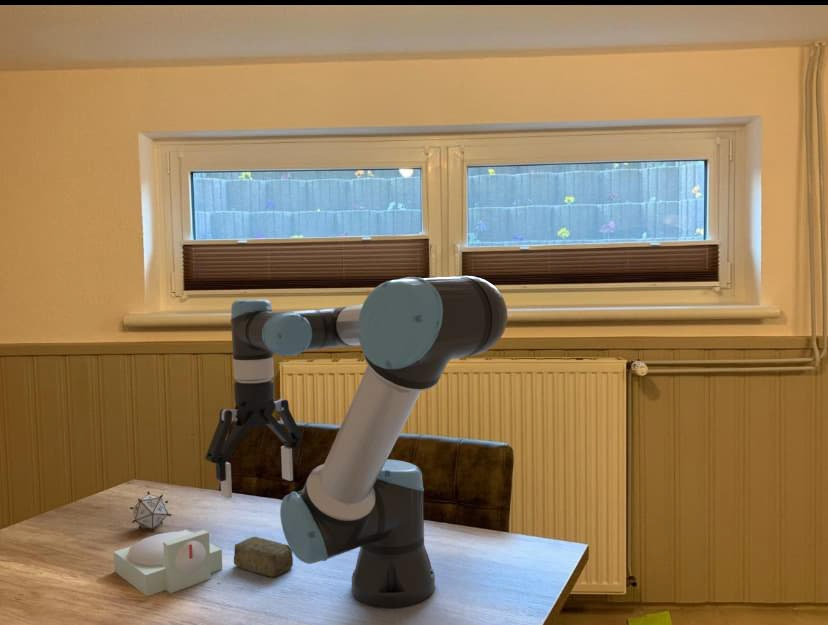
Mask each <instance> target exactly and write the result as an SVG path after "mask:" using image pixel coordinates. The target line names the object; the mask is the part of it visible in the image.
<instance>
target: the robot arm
mask: <svg viewBox="0 0 828 625" xmlns="http://www.w3.org/2000/svg"><path fill="white" fill-rule="evenodd" d="M230 315H231V318H230V323H231V324H230V326H231V341H232V344H231V345H232V361H233V363H232V364H233V379H235V382H234V383H233V391H234V392H233V393H234V401H235V407H234V409H226V408H221V409H220V410H219V420H218V423H217V426H216V429H215V431H214V433H213V437H212V439H211V441H210V444H209V447H208V449H207V452H206V454H205V458H204V459H205V460H206V461H208V462H210V463H212V464H215V474H216V475H215V476H216V480H217V481H220V496H222V497H223V498H226V499H232V498H233V494H232V492H233V490H232V488H233V486H232V465H231V463H230V462H228V460H229V459H230V457H231V455H232V454H233V453H234V451H235V450H236V447H237V446H238V444H239V443H240V441H241V439H242V437H244V435H245V434H246V433H247V432H248V431H249V430H255V429H257V428H264V427H266V426H267V427H268V428H269V429H270V430H271V431H272V432H273V433H274V434H275V435H276V436H277V438H278V439H279V440H280V441H281V442H282V443H283V444H284V445H282V446H280V453H281V454H280V456H281V478H282V479H283V480H286V481H289V482H291V481H294V473H293V472H294V471H293V469H294V468H293V467H294V466H293V463H295V460H296V448H298V447H299V443H302V442H303V440H304V437H303V435H302V432H301V431H300V429H299V427H298V425H297V422H296V421H295V418H294V417H293V414H292V413H291V411H290V405H289V401H288V400H287V399H283V398H277V399H276V401H274V399H275V381H274V380H273V379H272V378H273V377H274V376H275V371H274V370H275V369H274V354H275V355H278V356H284V357H285V356H297V355H299V354H302V353H303V352H306V351H314V350H320V349H329V348H330V349H331V348H340V347H341V348H342V347H354V346H355V347H356V346H360V348H361V350H362V354H363V355H362V356H363V360H364V361H365V364H366V369H365V371H364V373H363V376H362V378H361V379H360V382H359V384H358V387H357V388H356V391H355V394H354V396H353V398H352V399H351V402H350V405H349V407H348V409H347V411H346V414H345V416H344V418H343V421H342V423H341V424H340V427H339V430H338V432H337V435H336V437H335V438H334V441H333V443H332V445H331V448H330V450H329V452H328V455H327V456H326V459H325V462H324V463H323V464H320V465H318V466H316V467H315V468H313V469H312V470H311V472H310V473H309V475H308V477H307V479H306V482H305V483H304V486H303V489H301V490H299V491H291V493H289V494H287V495H284V497H283V498H282V500H281V503H280V523H281V528H282V531H283V535H284V538H285V539H286V540H285V541H286V543H287V545H288V546H289V547H290V549H291V550H292V554H293V555H294V556H295V557H296V559H298V560H299V561H301V562H302V563H304V564H308V565H310V564H311V565H312V564H315V563H319V562H326V561H327V560H328V559H331V558H335V557H337V556H340V555H343V554H345V553H348V552H350V551H353V550H355V549H358V548H359V552H358V555H357V559H356V563H355V564H356V565H355V569H353V572H352V575H351V592H352V595H353V596H354V597H355V598H356V599H357V600H358V601H360V602H361V603H363V604H364V605H365V604H366V605H368V606H372V607H378V608H386V609H387V608H388V609H390V608H391V609H394V608H402V607H409V606H412V605H416V604H418V603H421V602H423V601H425V600H427V599H428V598H430V596H432V594H433V593H434V591H435V589H436V584H435V583H436V582H435V581H436V578H435V577H436V576H435V572H434V568H433V567H432V565H431V561H430V558H429V555H428V551H427V548H426V546H425V527H424V526H425V524H424V522H425V519H424V518H425V516H424V515H425V514H424V512H425V511H424V507H425V506H424V491H425V488H424V485H423V484H424V483H423V474H422V470H421V469H420V467H418V466H416V465H415V464H414V463H410V462H406V461H403V460H397V459H389V455H390V454H391V452H392V450H393V447H395V444H396V442H397V440H398V439H399V436H400V434H401V432H402V431H403V428H404V426H405V424H406V422H407V420H408V418H409V416H410V414H411V412H412V410H413V408H414V406H415V405H416V403H417V401H418V398H419V397H420V395H421V393H422V391H428V390H430V389H432V388H434V387H435V386H436V385H437V384H438V382H439V380H440V378H441V376H442V375H443V373H444V371H445V369H446V368H447V365H448V363H449V362H450V361H451V360H453V359H460V358H466V357H472V356H473V357H474V356H476V355H480V354H483V353H484V352H486V351H489V350H490V349H491V348H493V347H494V346H495V345H496V344H497V343H498V342H499V341H500V340H501V339H502V336H503V335H504V333H505V330H506V327H507V324H508V309H507V305H506V301H505V299H504V297H503V295H502V293H501V292H500V291H499V290H498V288H496V287H495V285H493V283H490V282H489V281H487V280H486V279H483V278H480V277H476V276H471V275H470V276H469V275H460V276H459V275H458V276H444V277H443V276H442V277H441V276H440V277H427V278H426V277H425V278H422V277H418V276H417V277H416V276H407V277H402V278H399V279H392V280H388V281H385V282H382V283H381V284H379V285H377V286H376V287H375V288H374V289H373V290H371V291H370V293H369V294H368V295H367V297H366V298H365V300H364V301H363V304H357V305H350V306H349V305H347V306H340V307H331V308H330V307H329V308H321V309H320V308H319V309H307V310H306V309H304V310H303V309H302V310H301V309H300V310H289V311H273V310H272V304H271V302H270V300H268V299H265V298H263V299H262V298H256V299H255V298H251V299H238V300H234V301H233V302H232V304H231V314H230ZM275 411H277V412H278V415H279V416H280V419H281V420H282V423H283V426H285V428H286V430H287V431H286V430H285V429H284V427H283V426H282V425H281V424H280V423H279V421H278V420H277V419H276V417H275V416H273V414H274V413H275ZM235 418H236V420H235ZM234 420H235V422H234V424H233V426H232V421H234ZM231 426H232V430H231V431H230V429H231ZM229 431H230V433H229Z"/></svg>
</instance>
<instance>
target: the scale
mask: <svg viewBox="0 0 828 625" xmlns="http://www.w3.org/2000/svg"><path fill="white" fill-rule="evenodd" d="M222 554H223V552H222V549H221V548H220V547H218V546H216V545H214V544H213V543H211V542H210V532H209V531H207V530H206V529H202V530H201V529H200V530H199V531H198V530H197V531H195V532H192V531H190V530H188V529H184V530H180V531H171V532H170V531H169V532H164V533H159V534H158V533H157V534H155V535H151V536H148V537H145V538H142V539H141V540H139V541H137V542H135V543H134V544H133V545H130V546H128V547H124V548H121V549H118V550H115V551H113V562H114V563H113V564H114V572H115V573H116V574H118V575H119V576H120V577H121V578H123V579H124V580H125V581H126V582H128V583H129V584H130V585H131V586H133V587H134V588H135V589H137V591H139V592H140V593H142V594H143V595H144V596H145V597H151V596H153V595H155V594H156V595H157V594H158V593H161V592H164V591H167V592H168V593H169V594H173V593H176V592H178V591H181V590H184V589H186V588H188V587H191V586H195V585H197V584H200V583H202V582H203V583H204V582H205V581H207V580H208V581H209V580H210V579H212V574H213V573H216V572H218V571H221V570H223V555H222Z"/></svg>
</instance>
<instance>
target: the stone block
mask: <svg viewBox="0 0 828 625" xmlns="http://www.w3.org/2000/svg"><path fill="white" fill-rule="evenodd" d="M233 555H234V556H233V564H234V566H236V567H238V568H240V569H242V570H245V571H248V572H252V573H255V574H259V575H262V576H266V577H273V578H274V577H278V576H280V575H282V574H284V573H286V572H288V571H289V570H290V569H291V568H292V567H293V565H294V558H293V552H292V550H291V548H290V547H289V545H288V544H286V543H284V544H283V543H281V542H277V541H274V540H269V539H266V538H262V537H259V536H251V537H249V538H247V539H244V540H242V541H240V542H239V543H237V544H236V543H235V544H234V554H233Z"/></svg>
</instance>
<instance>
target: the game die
mask: <svg viewBox="0 0 828 625" xmlns="http://www.w3.org/2000/svg"><path fill="white" fill-rule="evenodd" d="M146 493H147V494H146V495H145V496H144V497H143V498H137V501H138V502H137V503H136V504H135V505H134V506H130V507H129V509H130V510H132V511H133V518H134V520H132V521H131V523H132V524H134V523H136V524H138V525H139V526H138V529H141V528H142V527H144V528H146V529H150V530H151V533H154V532H155V528H156V527H157V526H158V525H163V524H164V522H163V521H164V520H165V518H167V517H172V515H173V514H171V513H169V511H168V507H167V504H168V503H169V500H166V501H165V500H164V499H163V497H164V495H163V494H161V495H159V496H157V495H153V494H151V493H150V491H149V490H148V491H147V492H146Z"/></svg>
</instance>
